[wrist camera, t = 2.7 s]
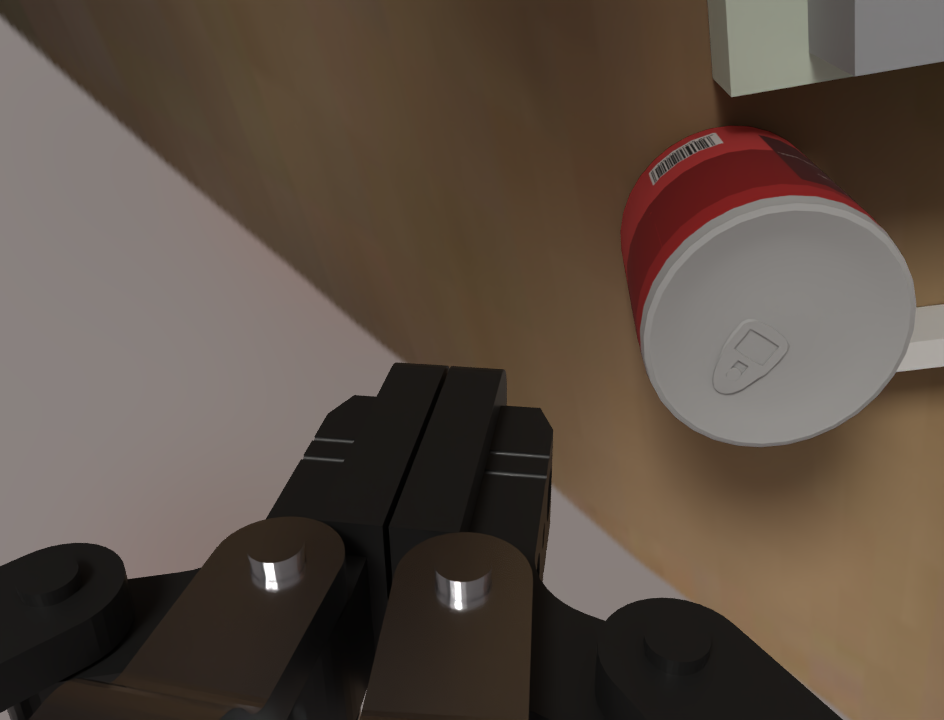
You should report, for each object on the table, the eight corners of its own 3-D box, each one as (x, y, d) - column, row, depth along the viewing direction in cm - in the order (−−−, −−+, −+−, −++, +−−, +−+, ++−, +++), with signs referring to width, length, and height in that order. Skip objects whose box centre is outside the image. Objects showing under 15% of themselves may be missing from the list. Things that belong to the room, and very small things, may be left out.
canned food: (592, 282, 37) (605, 412, 27) (661, 94, 34) (703, 165, 24) (766, 333, 37) (840, 479, 28) (852, 151, 34) (972, 245, 24)
